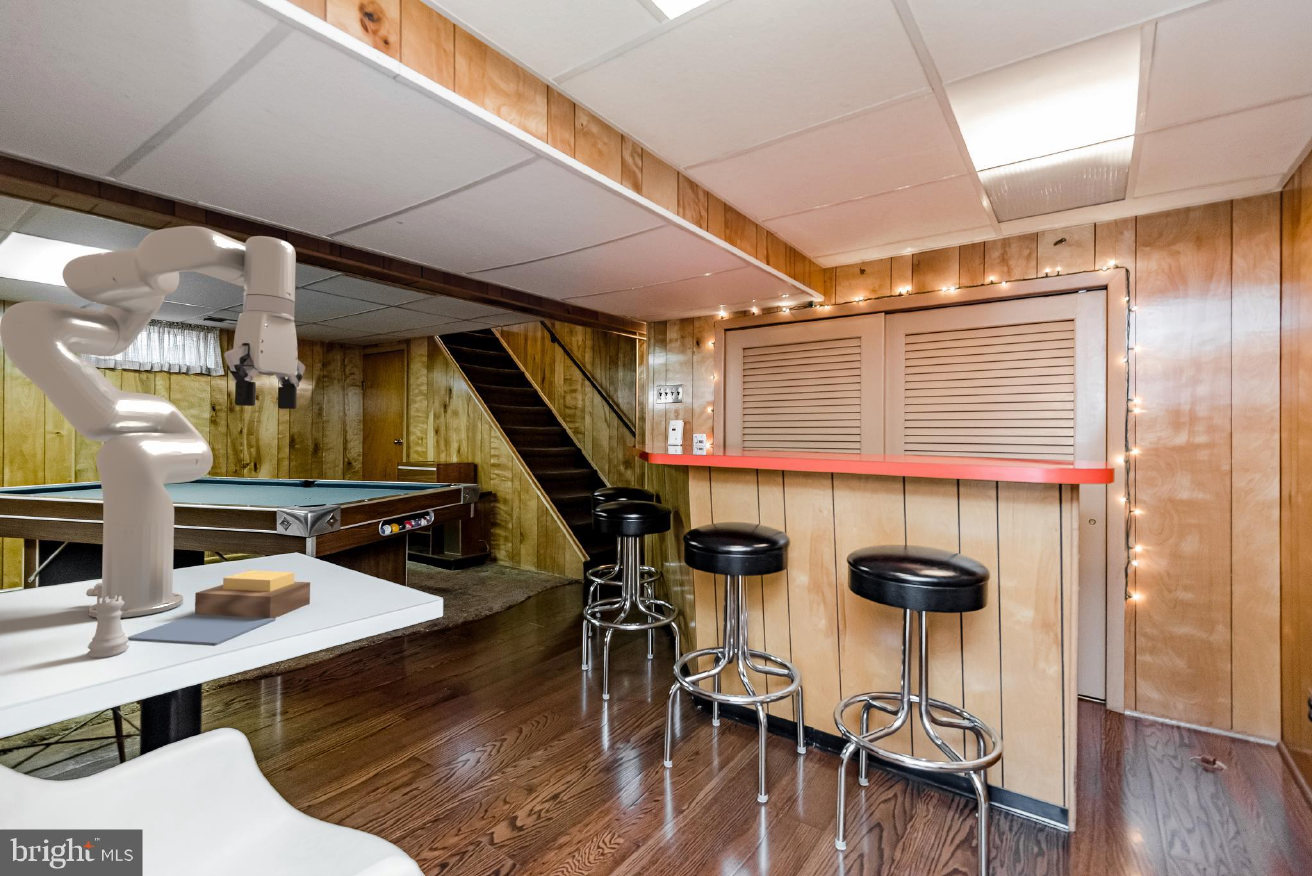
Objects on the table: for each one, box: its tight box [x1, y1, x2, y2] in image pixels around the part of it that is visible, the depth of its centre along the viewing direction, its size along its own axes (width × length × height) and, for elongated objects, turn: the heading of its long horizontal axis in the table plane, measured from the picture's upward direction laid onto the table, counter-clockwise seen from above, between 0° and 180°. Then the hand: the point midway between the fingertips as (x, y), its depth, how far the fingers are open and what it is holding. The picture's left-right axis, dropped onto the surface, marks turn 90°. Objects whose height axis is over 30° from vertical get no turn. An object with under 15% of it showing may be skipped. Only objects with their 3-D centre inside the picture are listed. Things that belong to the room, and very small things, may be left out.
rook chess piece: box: [86, 596, 130, 659], centre depth 83 cm, size 4×4×8 cm
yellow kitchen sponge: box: [222, 570, 295, 591], centre depth 106 cm, size 9×6×2 cm, turn 85°
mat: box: [127, 613, 277, 646], centre depth 94 cm, size 15×12×1 cm
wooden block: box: [194, 581, 311, 618], centre depth 105 cm, size 14×10×4 cm
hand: (267, 407), depth 102 cm, fingers open, 9 cm apart
